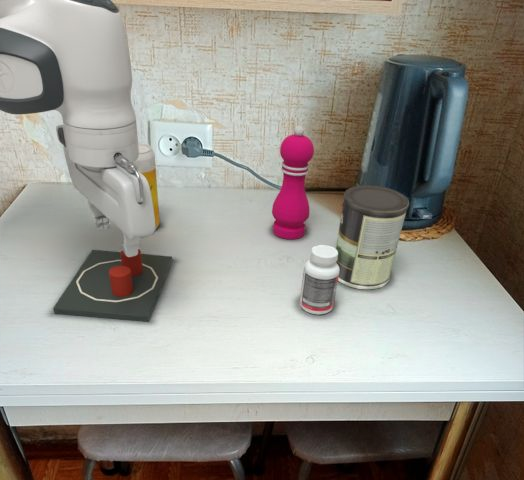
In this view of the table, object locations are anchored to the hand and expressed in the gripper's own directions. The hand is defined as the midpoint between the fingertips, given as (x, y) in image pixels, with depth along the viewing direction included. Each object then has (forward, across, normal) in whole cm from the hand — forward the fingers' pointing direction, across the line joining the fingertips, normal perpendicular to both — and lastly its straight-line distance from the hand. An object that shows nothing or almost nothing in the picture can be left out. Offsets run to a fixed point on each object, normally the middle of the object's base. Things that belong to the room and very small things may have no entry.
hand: (116, 240), depth 74 cm
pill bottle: (+10, -19, -24) cm, 32 cm away
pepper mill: (+10, +4, -37) cm, 38 cm away
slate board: (+10, +3, 0) cm, 10 cm away
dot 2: (+8, 0, 0) cm, 8 cm away
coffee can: (+10, -15, -37) cm, 42 cm away
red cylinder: (+8, +4, -4) cm, 10 cm away
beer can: (+10, +20, -13) cm, 26 cm away
